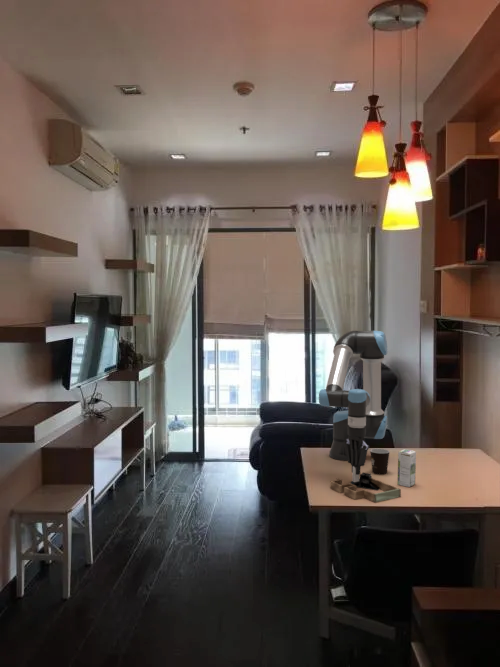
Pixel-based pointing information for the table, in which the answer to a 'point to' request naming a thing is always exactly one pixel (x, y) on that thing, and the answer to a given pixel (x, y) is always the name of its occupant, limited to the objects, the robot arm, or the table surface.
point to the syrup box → (406, 468)
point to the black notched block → (366, 482)
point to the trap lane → (352, 493)
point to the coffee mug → (379, 460)
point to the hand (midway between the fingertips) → (355, 481)
